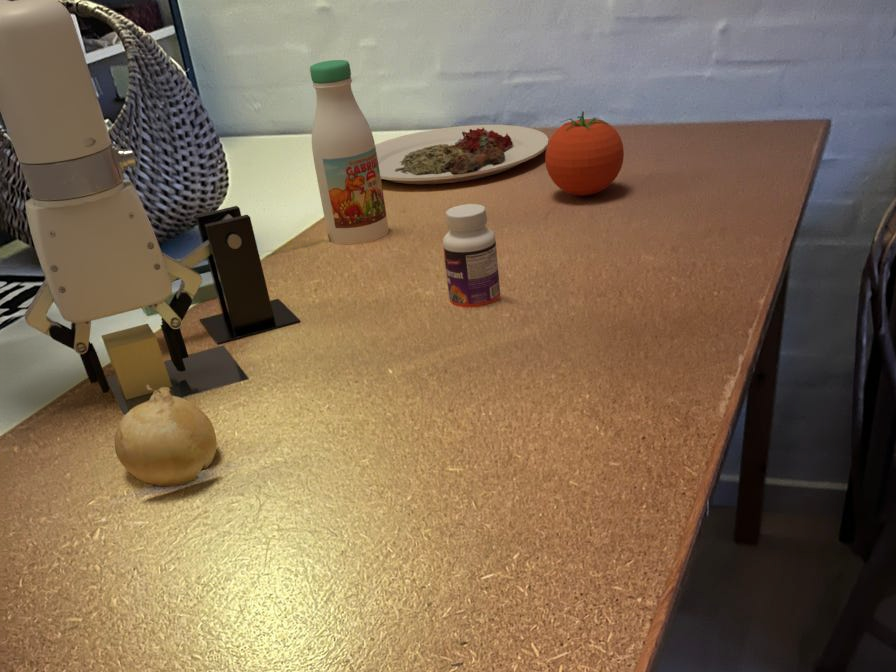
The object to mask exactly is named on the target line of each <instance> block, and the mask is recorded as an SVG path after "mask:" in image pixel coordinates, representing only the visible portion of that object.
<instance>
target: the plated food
mask: <svg viewBox="0 0 896 672" xmlns="http://www.w3.org/2000/svg"><path fill="white" fill-rule="evenodd" d="M548 142H549V138H548V136H547V134H545V133H544V132H543V131H540V130H538V129H534V128H531V127H526V126H521V125H509V124H475V125H460V126H452V127H451V126H449V127H443V128H434V129H429V130H424V131H417V132H413V133H409V134H406V135H401V136H397V137H394V138H391V139H387V140H385V141H382V142H379V143H375V148H376V153H377V158H378V165H379V171H380V177H381V180H386V181H387V182H388V181H389V182H392V183H398V184H406V185H438V184H451V183H457V182H466V181H470V180H471V181H472V180H476V179H477V180H478V179H480V178H481V179H482V178H485V177H489V176H493V175H497V174H499V173H502V172H506V171H509V170H510V169H512V168H515V167H517V166H518V165H520V164H522V163H525V162H527V161H530V160H531V159H534V158H536V157H537V156H539V155H540V154H542V153H544V151H546V149H547V145H548Z"/></svg>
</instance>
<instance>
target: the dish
mask: <svg viewBox="0 0 896 672" xmlns="http://www.w3.org/2000/svg"><path fill="white" fill-rule="evenodd" d="M182 258H183V257H181V258H177V259H176V260H177V261H179V260H180V259H182ZM204 261H207V258H205V259H204V260H203V261H202V262H204ZM192 269H193V270H195V271H197V272H198V273H199V274H200V275H203V274H207V273H211V272H210V268H209V264H208V263H207V264H204V265H203V264H202V265H199V266H194V267H193V268H192ZM178 280H180V279H179V278H178V279H176V280H175V281H178ZM177 291H178V290H177ZM177 291H172V293H171V295H170V296H169V297H168V298H167V299H166V301H167V302H168V303H169V304H170V302H171V301H172V299H173V297H174V295H175V293H176V292H177ZM216 299H218V297H217V293H216V290H215V286H214V283H213V281H212V282H208V283H204V284H200V286H199V288H198V290H197V292H196V294H195V296H194V297H193V299H192V303H191V306H192V305H196V304H200V303H204V302H207V301H210V300H211V301H212V300H216ZM141 309H142V311H143V313H144V314H145V315H146V317H150V316H154V315H157V314H158V315H159V313H158V312H157V311H156V310H155V309H154V308H153V307H149V306H147V307H144V308H141Z"/></svg>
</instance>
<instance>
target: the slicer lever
mask: <svg viewBox="0 0 896 672" xmlns="http://www.w3.org/2000/svg"><path fill="white" fill-rule="evenodd" d="M230 218H233V217H232V216H231V215H230V214H227V215H226V216H224V217H223V218H222V219H220V220H219V221H222V220H226V219H230ZM211 254H212V251H211V247H210V243H209V240H207V241H205V242H204V243H203V242H202V243H201V244H199V246H197V247H196V248H194V249H193V250H191V251H190V252H188V253H187V254H186V255H185V256H183V257H181V258H182V259H181V258H179V259H180V260H179V262H181V263H183V264H184V265H186V266H188V267H190V268H194V267H197V265H199V264H200V263H202V262H204V261H205V260H204V259H205V258H207V257H208V256H210V255H211ZM203 260H204V261H203ZM169 277H170V280H171V284H172V283H173V282H175V281H177V280H176V279H178V278H177V277H175V276H173V275H172V274H170V273H169ZM149 307H152V306H149Z"/></svg>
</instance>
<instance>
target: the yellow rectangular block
mask: <svg viewBox="0 0 896 672" xmlns="http://www.w3.org/2000/svg"><path fill="white" fill-rule="evenodd" d="M100 336H101V340H102V342H103V345H104V347H105V350H106V354H107V356H108V360H109V362H110V364H111V367H112V370H113V373H114V375H115V376H116V378H117V381H118V384H119V386H120V388H121V390H122V392H123V395H124V397H125V399H126V400H128V399H132V398H135V397H139V396H142V395H146V394H149V393H153V391H151V392H149V390H147V388H146V385H149V387H151V389H154V390H159V389H160V388H162V387H165V388H171V387H172V385H171V382H170V379H169V375H168V372H167V369H166V366H165V363H164V361H165V360H164V356H163V354H162V350H161V348H160V345H159V341H158V338H157V336H156V334H155V333H154V331H153V329H152V328H151V327H150V324H149V323H145V324H144V323H143V324H140V325H137V326H133V327H129V328H124V329H122V330H117V331H113V332H110V333H106V334H103V335H102V334H101V335H100Z"/></svg>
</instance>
